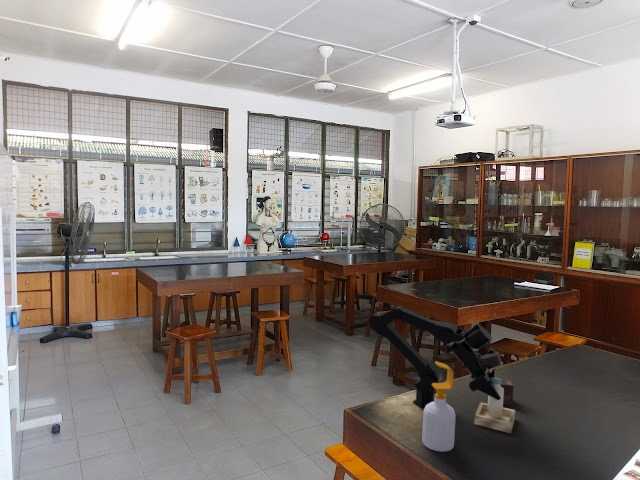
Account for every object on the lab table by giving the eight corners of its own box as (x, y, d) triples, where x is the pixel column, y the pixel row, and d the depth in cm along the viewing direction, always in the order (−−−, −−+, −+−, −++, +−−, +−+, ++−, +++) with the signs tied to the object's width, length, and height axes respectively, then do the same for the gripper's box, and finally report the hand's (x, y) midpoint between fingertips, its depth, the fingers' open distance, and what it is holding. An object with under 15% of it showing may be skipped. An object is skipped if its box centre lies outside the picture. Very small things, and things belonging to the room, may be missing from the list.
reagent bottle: (495, 419, 145) (497, 382, 144) (484, 413, 149) (486, 377, 148) (505, 416, 147) (507, 380, 146) (494, 410, 151) (495, 375, 150)
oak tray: (474, 424, 146) (474, 415, 145) (480, 410, 155) (480, 402, 155) (510, 433, 140) (511, 424, 140) (514, 418, 150) (515, 410, 150)
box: (512, 405, 160) (514, 385, 160) (494, 403, 161) (496, 383, 161) (509, 398, 166) (510, 379, 165) (491, 396, 167) (493, 377, 167)
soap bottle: (418, 436, 137) (422, 357, 135) (447, 435, 138) (451, 357, 136) (427, 452, 128) (431, 369, 126) (458, 452, 129) (463, 368, 127)
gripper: (482, 351, 139) (518, 394, 135) (491, 336, 156) (523, 374, 151) (454, 370, 144) (488, 412, 140) (466, 354, 160) (497, 391, 156)
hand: (500, 396), depth 146 cm, fingers closed on reagent bottle, 5 cm apart
